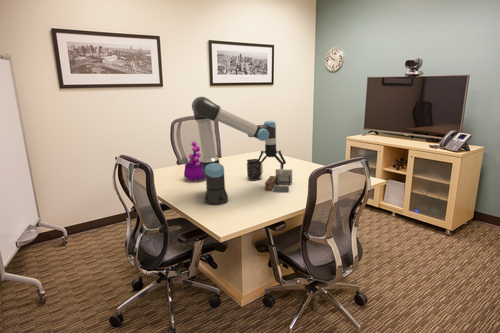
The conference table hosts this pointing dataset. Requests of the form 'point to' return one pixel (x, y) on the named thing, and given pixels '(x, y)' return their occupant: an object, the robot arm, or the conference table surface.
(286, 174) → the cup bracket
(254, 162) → the camera
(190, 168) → the decorative plant
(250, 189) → the conference table surface
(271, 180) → the rail
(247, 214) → the conference table surface
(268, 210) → the conference table surface
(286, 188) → the rest block
